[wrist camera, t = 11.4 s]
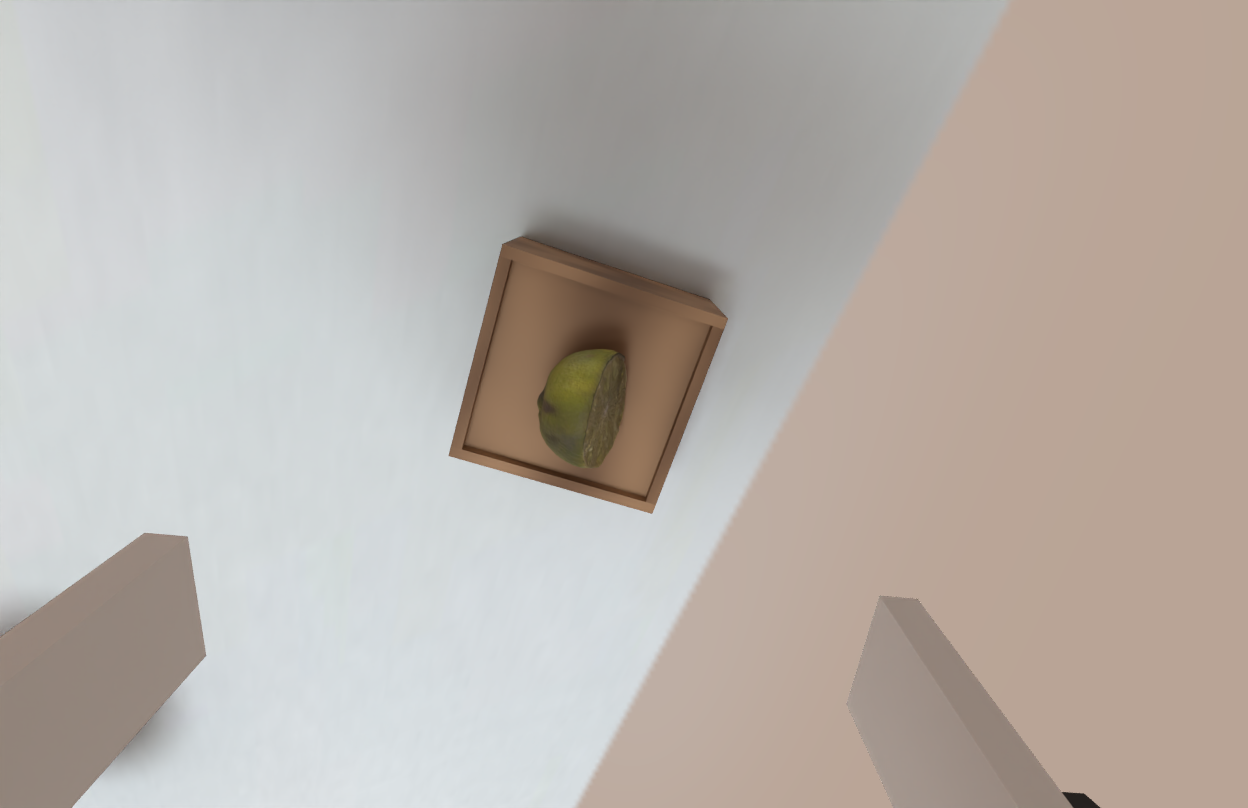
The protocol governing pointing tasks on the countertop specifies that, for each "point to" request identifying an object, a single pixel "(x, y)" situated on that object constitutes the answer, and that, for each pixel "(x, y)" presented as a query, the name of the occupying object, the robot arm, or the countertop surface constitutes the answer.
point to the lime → (583, 406)
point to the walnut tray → (572, 322)
